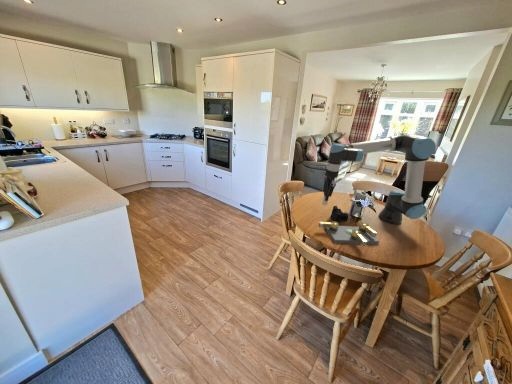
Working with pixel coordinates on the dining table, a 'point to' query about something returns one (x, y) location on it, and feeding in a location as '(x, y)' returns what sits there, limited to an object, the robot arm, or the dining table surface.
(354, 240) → the level plate
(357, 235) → the knob left
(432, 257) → the dining table surface
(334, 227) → the knob
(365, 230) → the knob
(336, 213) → the camera
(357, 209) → the milk carton
